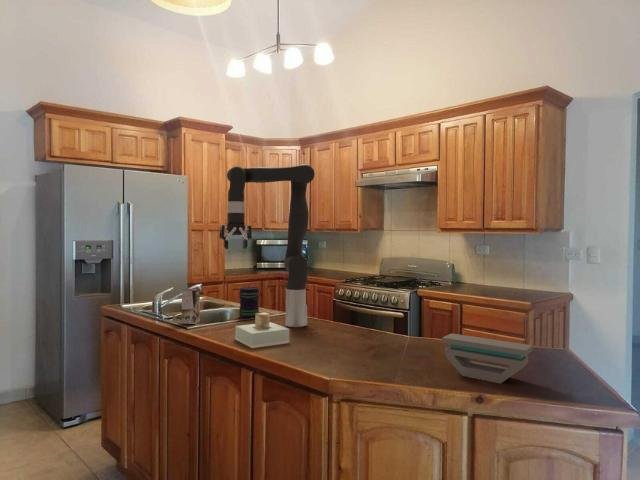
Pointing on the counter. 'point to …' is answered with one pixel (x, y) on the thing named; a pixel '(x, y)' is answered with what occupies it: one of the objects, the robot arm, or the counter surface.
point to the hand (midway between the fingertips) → (235, 248)
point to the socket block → (262, 335)
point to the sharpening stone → (485, 356)
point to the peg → (262, 321)
